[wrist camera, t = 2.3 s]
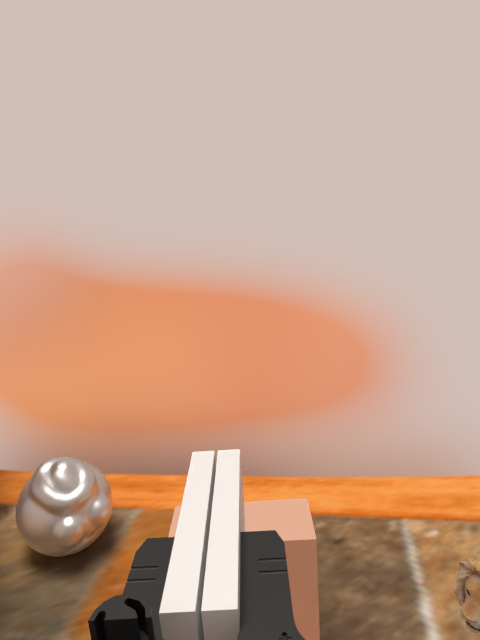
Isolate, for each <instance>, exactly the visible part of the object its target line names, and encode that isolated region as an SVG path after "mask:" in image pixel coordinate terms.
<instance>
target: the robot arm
mask: <svg viewBox="0 0 480 640" xmlns="http://www.w3.org/2000/svg"><path fill="white" fill-rule="evenodd" d="M88 623H89V628H90V634H91V640H305V639H304V638H303V637H302V635H301V634H300V633H299V631H298V629H297V628H296V625H295V622H294V617H293V609H292V601H291V593H290V585H289V577H288V569H287V561H286V552H285V544H284V541H283V540H282V539H281V537H280V536H279V534H278V533H277V532H276V530H268V531H250V532H245V510H244V497H243V484H242V472H241V458H240V450H239V449H234V450H218V455H217V464H216V462H215V452H214V451H201V452H193V453H192V458H191V463H190V468H189V472H188V477H187V482H186V486H185V491H184V496H183V501H182V505H181V510H180V515H179V520H178V524H177V529H176V534H175V537H165V538H148V539H146V541H145V542H144V543H143V544H142V545H141V547H140V548H139V549H138V550H137V551H136V554H135V557H134V560H133V563H132V566H131V570H130V573H129V576H128V579H127V583H126V585H125V589H124V592H123V594H122V595H118V596H114V597H112V598H110V599H109V600H107V601H105V602H103V603H102V604H101V605H100V606H99V607H98V608H97V609H96V610H94V612H93V614H92V615H91V617H90V619H89V621H88Z"/></svg>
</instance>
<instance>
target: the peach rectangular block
mask: <svg viewBox="0 0 480 640" xmlns="http://www.w3.org/2000/svg"><path fill="white" fill-rule="evenodd" d="M180 510H181V505H179V506H175V510H174V515H173V519H172V523H171V528H170V532H169V537H175V534H176V529H177V524H178V520H179V515H180ZM244 510H245V532H250V531H268V530H276V532H277V533H278V534H279V536H280V537H281V539H282V540H283V541H284V544H285V552H286V561H287V569H288V577H289V585H290V593H291V601H292V609H293V617H294V622H295V625H296V628H297V629H298V631H299V633H300V634H301V635H302V637H303V638H304V639H305V640H320V628H319V601H318V573H317V545H316V536H315V531H314V527H313V522H312V518H311V513H310V509H309V504H308V500H307V498H302V499H284V500H267V501H249V502H244Z"/></svg>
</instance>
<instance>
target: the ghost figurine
mask: <svg viewBox="0 0 480 640" xmlns="http://www.w3.org/2000/svg"><path fill="white" fill-rule="evenodd" d="M112 510H113V509H112V492H111V488H110V485H109V483H108V481H107V479H106V477H105V476H104V475H103V473H102V472H101V471H100V470H99V469H98V468H96V467H95V466H93V465H92V464H90V463H88V462H85V461H82V460H78V459H76V458H73V457H58V458H54V459H51V460H48V461H46V462H44V463H43V464H41V465H40V466H39V467H38V469H37V470H36V472H35V473H34V475H32V477H31V478H30V479H29V480H28V481H27V482H26V484H25V485H24V487H23V489H22V491H21V493H20V495H19V498H18V501H17V506H16V523H17V527H18V530H19V533H20V535H21V537H22V538H23V540H24V541H25V542H26V543H27V544H28V545H29V546H30V547H31V548H32V549H34V550H35V551H37V552H39V553H41V554H44V555H47V556H54V557H61V556H68V555H72V554H75V553H77V552H80V551H82V550H83V549H85V548H87V547H88V546H90V545H91V544H92V543H93V542H94V541H95V540H96V539H97V538H98V537H99V536H100V535H101V533H102V532H103V530H104V529H105V527H106V525H107V523H108V521H109V519H110V517H111V515H112Z"/></svg>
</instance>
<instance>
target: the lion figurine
mask: <svg viewBox="0 0 480 640" xmlns="http://www.w3.org/2000/svg"><path fill="white" fill-rule="evenodd" d="M455 594H456V596H457V599H458V601H459V604H460V606H461V609H460V614H461V617H462V618H463V619H465V620H466V625H467V628H468V629H469V630H470V631H472V632H475V633H478V632H480V554H478V555H474V556H472V557H471V558H469V559H468V560H467V561H460V573H459V577H458V578H457V583H456V588H455Z"/></svg>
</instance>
